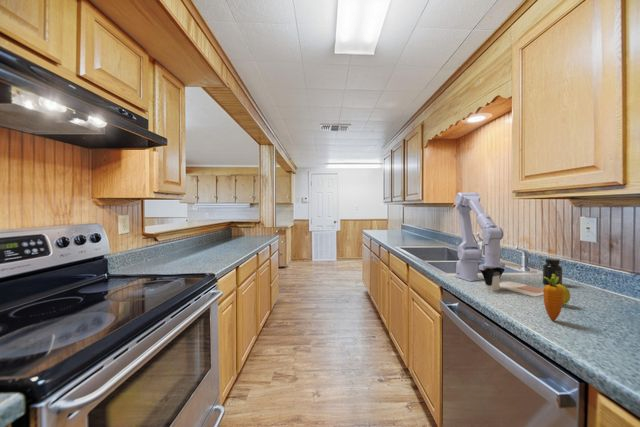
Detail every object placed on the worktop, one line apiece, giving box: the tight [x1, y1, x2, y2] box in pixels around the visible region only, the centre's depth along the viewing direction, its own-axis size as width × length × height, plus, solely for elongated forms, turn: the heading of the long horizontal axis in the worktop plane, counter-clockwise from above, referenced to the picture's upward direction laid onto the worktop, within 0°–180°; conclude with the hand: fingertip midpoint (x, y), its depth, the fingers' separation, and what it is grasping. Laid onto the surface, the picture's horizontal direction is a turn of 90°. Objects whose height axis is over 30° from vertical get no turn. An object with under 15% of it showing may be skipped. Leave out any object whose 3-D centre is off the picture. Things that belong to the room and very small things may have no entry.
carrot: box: [542, 274, 564, 322], centre depth 85 cm, size 5×5×15 cm
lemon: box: [556, 284, 571, 305], centre depth 99 cm, size 6×6×8 cm
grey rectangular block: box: [484, 270, 501, 292], centre depth 118 cm, size 4×4×8 cm
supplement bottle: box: [542, 258, 563, 286], centre depth 124 cm, size 7×7×12 cm
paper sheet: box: [500, 280, 544, 298], centre depth 118 cm, size 18×13×1 cm
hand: (492, 284), depth 118 cm, fingers closed on grey rectangular block, 4 cm apart
